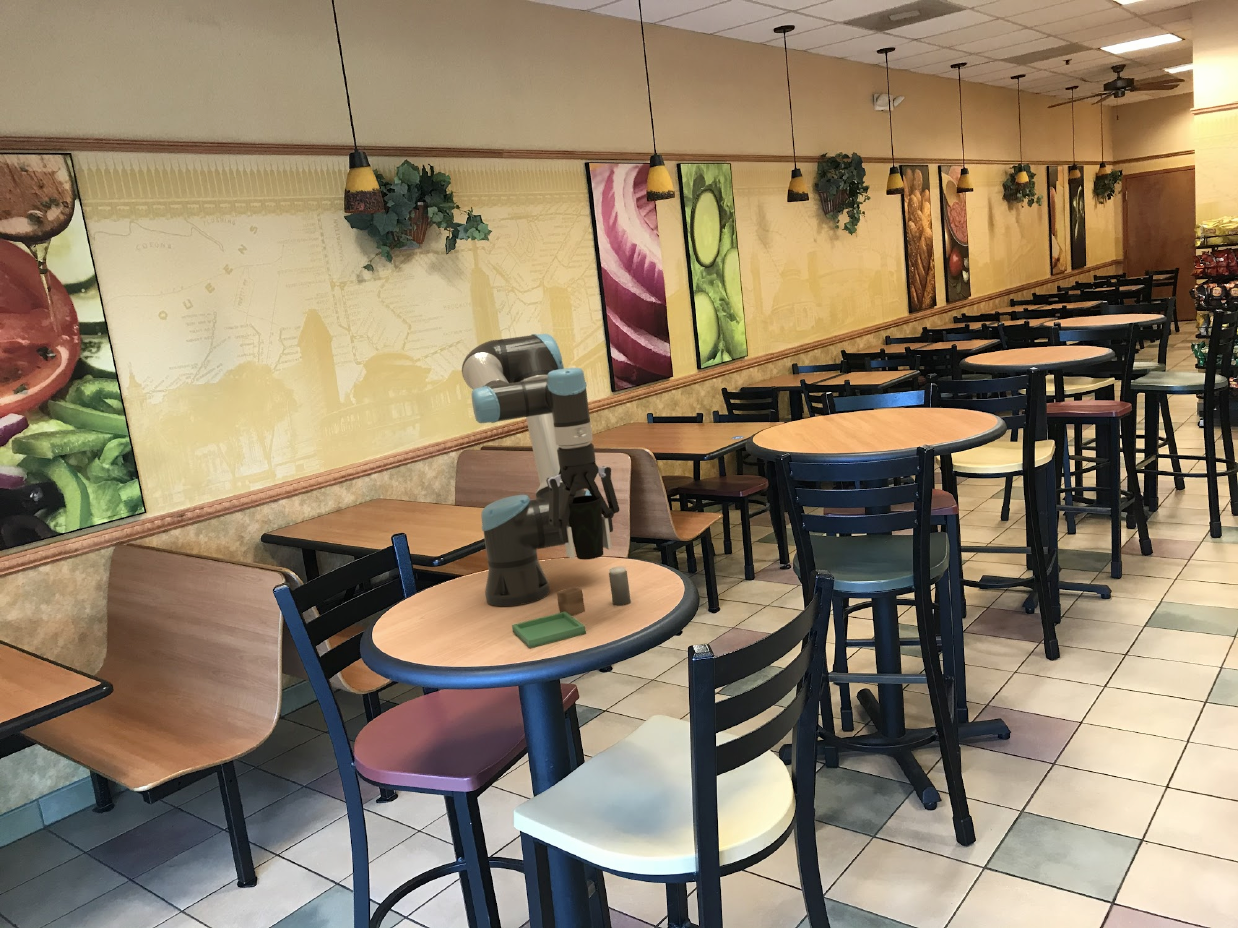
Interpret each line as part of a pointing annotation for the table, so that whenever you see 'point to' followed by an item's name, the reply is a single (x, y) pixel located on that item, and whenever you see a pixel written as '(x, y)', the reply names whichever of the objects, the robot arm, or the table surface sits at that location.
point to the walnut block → (571, 601)
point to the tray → (548, 629)
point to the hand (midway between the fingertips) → (589, 552)
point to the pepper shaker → (619, 586)
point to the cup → (586, 527)
